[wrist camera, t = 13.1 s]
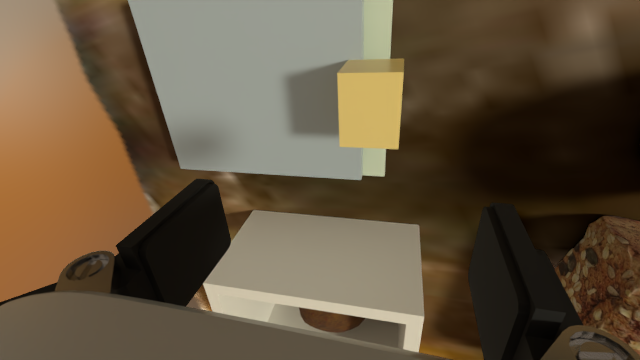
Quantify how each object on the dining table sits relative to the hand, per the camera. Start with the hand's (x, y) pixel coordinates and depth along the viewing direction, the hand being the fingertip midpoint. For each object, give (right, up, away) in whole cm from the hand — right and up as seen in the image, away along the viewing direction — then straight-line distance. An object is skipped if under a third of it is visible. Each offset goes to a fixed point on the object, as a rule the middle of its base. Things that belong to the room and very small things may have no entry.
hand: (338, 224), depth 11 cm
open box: (+1, -9, +27) cm, 29 cm away
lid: (-4, +10, +17) cm, 20 cm away
